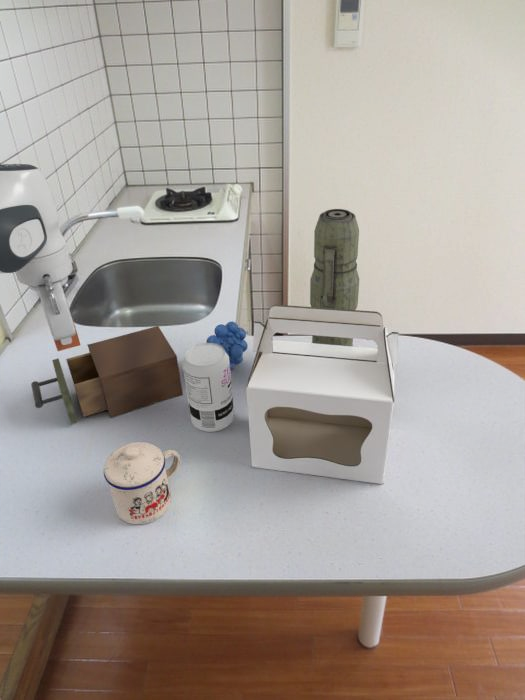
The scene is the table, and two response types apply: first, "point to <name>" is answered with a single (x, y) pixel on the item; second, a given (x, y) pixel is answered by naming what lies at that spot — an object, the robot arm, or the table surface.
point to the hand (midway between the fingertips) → (64, 335)
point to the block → (74, 343)
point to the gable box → (322, 394)
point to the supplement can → (208, 386)
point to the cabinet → (136, 370)
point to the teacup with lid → (140, 481)
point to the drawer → (84, 385)
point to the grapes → (230, 341)
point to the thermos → (335, 267)
